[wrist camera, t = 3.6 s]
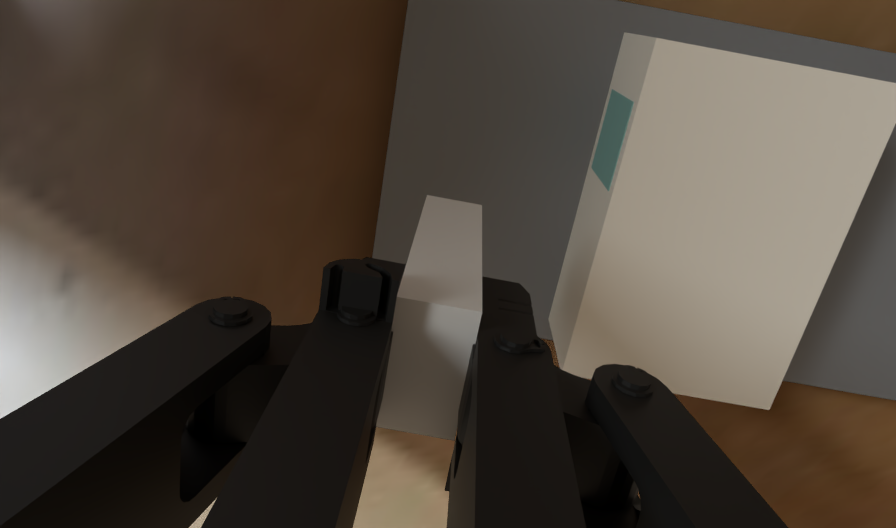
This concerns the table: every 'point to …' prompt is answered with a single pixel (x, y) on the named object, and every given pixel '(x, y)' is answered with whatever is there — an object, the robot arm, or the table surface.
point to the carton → (713, 215)
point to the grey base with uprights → (571, 145)
